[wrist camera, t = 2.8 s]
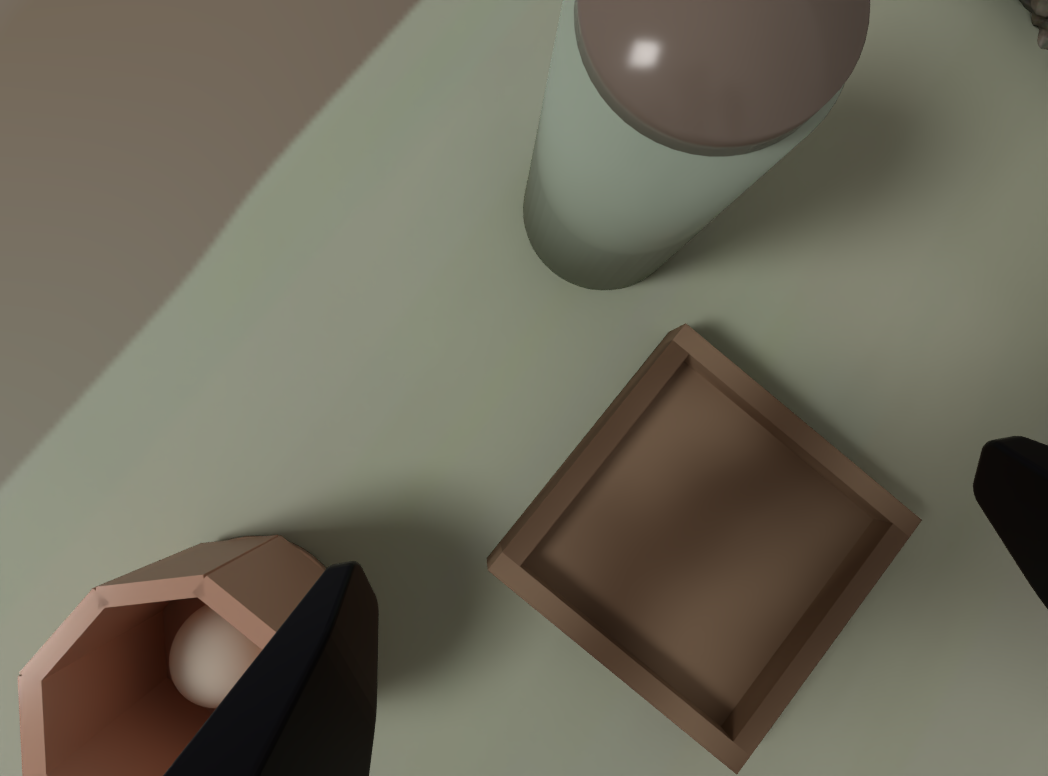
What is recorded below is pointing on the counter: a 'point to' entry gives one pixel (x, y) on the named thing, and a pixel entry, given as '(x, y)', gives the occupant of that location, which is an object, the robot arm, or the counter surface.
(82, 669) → the terracotta cup
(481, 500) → the counter surface
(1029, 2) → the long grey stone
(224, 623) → the cream ball
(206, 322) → the counter surface
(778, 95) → the spice jar
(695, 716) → the walnut tray
